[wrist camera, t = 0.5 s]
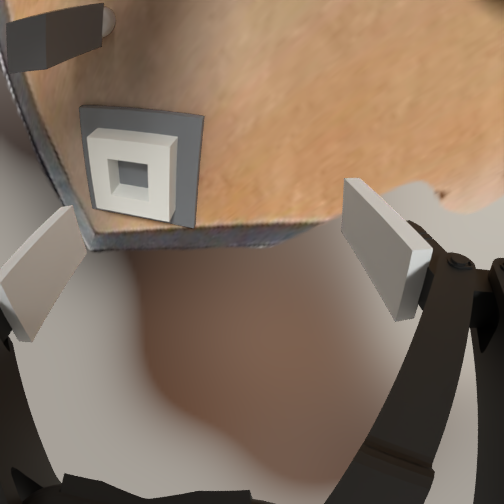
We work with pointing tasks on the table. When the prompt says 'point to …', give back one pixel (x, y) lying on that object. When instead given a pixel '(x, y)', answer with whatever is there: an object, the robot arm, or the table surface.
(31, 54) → the plug
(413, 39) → the table surface
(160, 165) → the socket
